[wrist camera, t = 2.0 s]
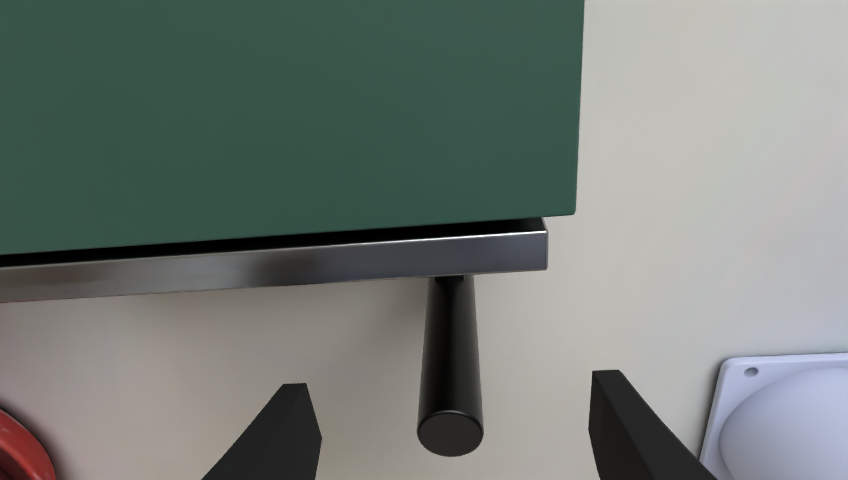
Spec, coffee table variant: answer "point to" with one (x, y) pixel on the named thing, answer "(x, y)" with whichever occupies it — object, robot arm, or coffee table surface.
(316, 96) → the microwave oven
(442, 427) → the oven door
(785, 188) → the coffee table surface
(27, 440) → the flower pot
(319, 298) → the coffee table surface
